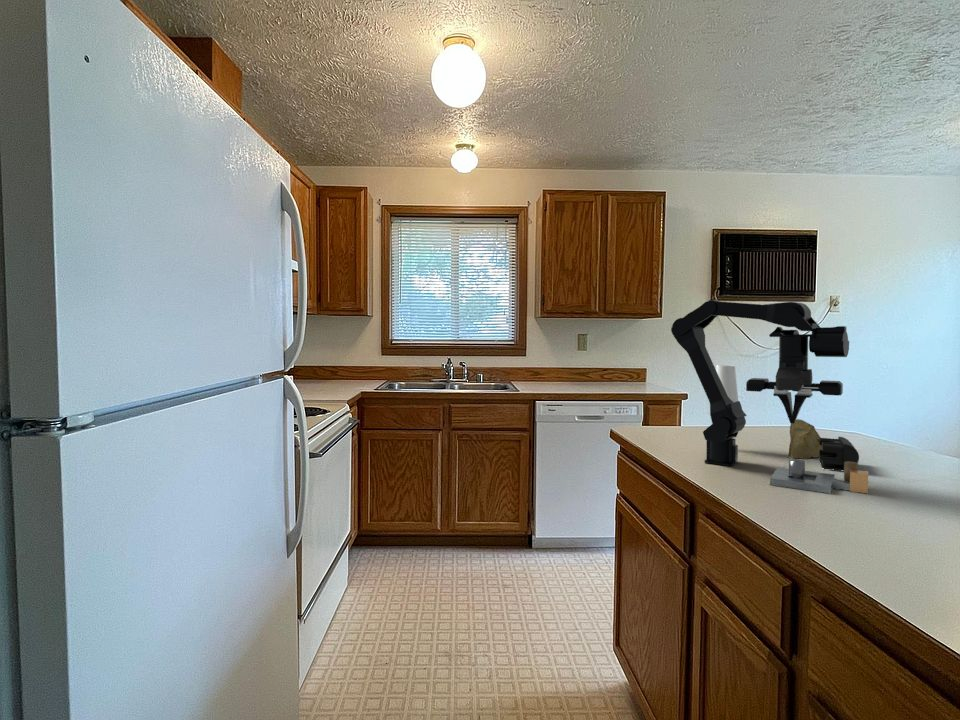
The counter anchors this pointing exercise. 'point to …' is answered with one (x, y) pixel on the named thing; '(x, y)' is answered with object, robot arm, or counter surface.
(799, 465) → the post
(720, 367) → the champagne flute
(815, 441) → the rock
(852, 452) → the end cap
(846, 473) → the dowel
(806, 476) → the flange plate
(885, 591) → the counter surface
